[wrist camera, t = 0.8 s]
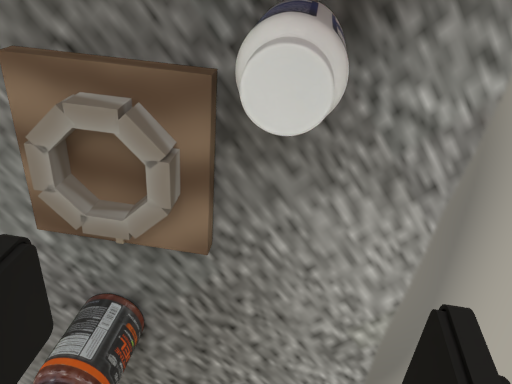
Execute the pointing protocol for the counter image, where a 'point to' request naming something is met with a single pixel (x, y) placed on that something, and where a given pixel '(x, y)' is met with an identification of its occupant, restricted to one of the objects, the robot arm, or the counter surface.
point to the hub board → (116, 145)
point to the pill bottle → (292, 67)
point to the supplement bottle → (95, 344)
